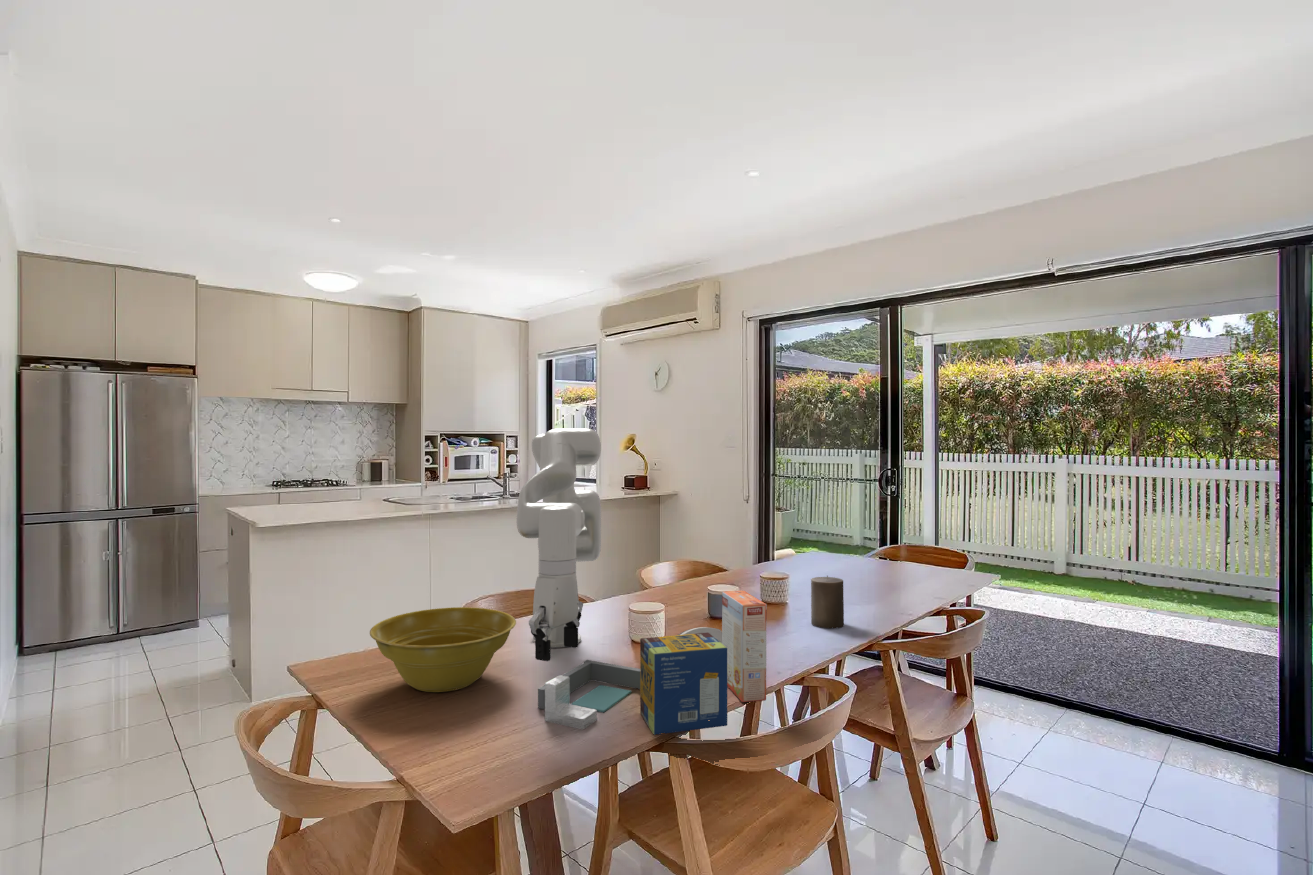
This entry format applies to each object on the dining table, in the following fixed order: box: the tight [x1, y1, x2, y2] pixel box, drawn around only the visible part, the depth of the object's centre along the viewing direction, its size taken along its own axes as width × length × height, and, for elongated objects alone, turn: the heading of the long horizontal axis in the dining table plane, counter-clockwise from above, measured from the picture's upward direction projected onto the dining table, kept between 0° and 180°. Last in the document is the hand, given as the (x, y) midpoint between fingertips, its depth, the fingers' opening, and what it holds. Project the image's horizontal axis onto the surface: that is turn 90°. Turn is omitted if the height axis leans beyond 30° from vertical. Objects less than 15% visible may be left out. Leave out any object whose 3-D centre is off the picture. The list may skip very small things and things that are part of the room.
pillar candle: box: [810, 575, 845, 630], centre depth 198 cm, size 10×10×15 cm
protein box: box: [639, 632, 728, 736], centre depth 130 cm, size 10×15×16 cm
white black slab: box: [677, 626, 722, 643], centre depth 162 cm, size 17×5×10 cm, turn 126°
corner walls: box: [537, 659, 640, 710], centre depth 141 cm, size 18×20×4 cm
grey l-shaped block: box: [544, 674, 598, 731], centre depth 130 cm, size 9×5×8 cm, turn 64°
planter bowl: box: [369, 606, 517, 693], centre depth 151 cm, size 32×32×13 cm
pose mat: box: [570, 684, 632, 713], centre depth 140 cm, size 8×12×1 cm, turn 154°
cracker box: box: [721, 590, 768, 703], centre depth 145 cm, size 14×6×21 cm, turn 12°
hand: (557, 653), depth 131 cm, fingers open, 9 cm apart
